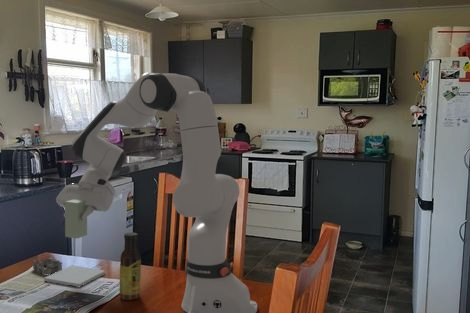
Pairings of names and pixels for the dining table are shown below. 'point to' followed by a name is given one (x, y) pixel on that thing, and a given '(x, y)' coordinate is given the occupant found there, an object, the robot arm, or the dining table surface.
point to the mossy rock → (47, 266)
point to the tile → (74, 275)
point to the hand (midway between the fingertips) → (74, 218)
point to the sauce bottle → (130, 268)
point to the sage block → (75, 219)
